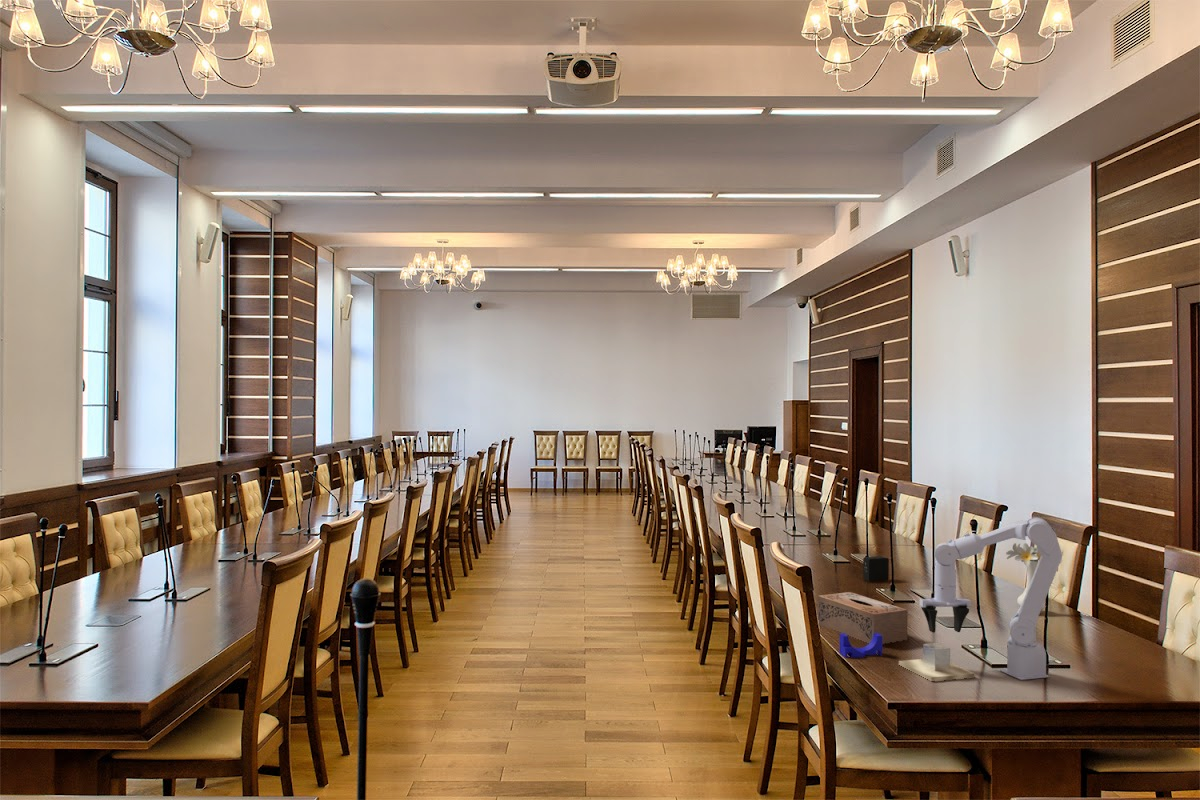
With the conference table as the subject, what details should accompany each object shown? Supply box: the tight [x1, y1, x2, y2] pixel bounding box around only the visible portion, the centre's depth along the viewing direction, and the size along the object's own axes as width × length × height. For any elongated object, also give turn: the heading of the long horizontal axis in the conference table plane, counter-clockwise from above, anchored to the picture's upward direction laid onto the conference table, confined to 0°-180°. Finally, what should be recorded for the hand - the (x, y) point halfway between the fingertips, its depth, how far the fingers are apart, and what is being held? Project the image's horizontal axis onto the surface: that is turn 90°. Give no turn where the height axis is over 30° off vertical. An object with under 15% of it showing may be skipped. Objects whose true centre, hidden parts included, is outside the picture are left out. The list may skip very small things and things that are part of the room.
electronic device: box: [862, 555, 890, 583], centre depth 336 cm, size 4×10×10 cm, turn 107°
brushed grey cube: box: [922, 642, 951, 671], centre depth 220 cm, size 5×5×6 cm
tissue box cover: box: [816, 591, 909, 645], centre depth 259 cm, size 26×14×10 cm, turn 26°
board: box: [898, 658, 975, 682], centre depth 221 cm, size 14×14×1 cm
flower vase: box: [1006, 542, 1063, 615], centre depth 287 cm, size 13×18×25 cm
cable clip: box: [839, 633, 883, 658], centre depth 235 cm, size 12×4×6 cm, turn 94°
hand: (944, 631), depth 227 cm, fingers open, 7 cm apart
